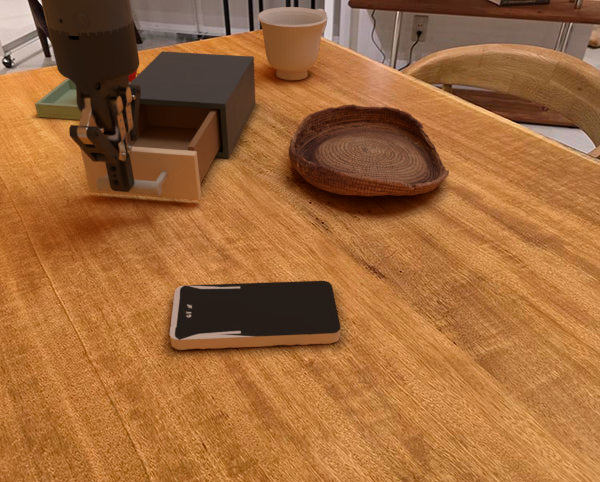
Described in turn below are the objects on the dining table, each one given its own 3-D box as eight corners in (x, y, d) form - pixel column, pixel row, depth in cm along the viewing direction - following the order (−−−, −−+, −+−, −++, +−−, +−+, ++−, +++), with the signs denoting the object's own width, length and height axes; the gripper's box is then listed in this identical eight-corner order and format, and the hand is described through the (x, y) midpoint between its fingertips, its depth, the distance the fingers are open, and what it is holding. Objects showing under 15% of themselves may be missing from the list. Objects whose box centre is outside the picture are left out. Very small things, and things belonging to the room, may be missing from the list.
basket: (472, 208, 71) (481, 171, 68) (310, 225, 68) (311, 186, 65) (408, 132, 88) (412, 99, 85) (276, 142, 85) (275, 108, 82)
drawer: (189, 219, 66) (183, 173, 63) (75, 210, 68) (63, 164, 64) (232, 136, 84) (230, 95, 80) (141, 129, 85) (134, 89, 81)
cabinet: (229, 158, 80) (225, 103, 76) (125, 151, 82) (115, 96, 77) (255, 104, 96) (253, 56, 91) (168, 99, 97) (161, 51, 92)
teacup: (348, 71, 109) (352, 12, 103) (294, 92, 100) (295, 29, 94) (299, 56, 115) (300, 0, 109) (244, 75, 106) (242, 15, 100)
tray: (38, 117, 90) (34, 103, 89) (69, 91, 99) (66, 78, 98) (133, 123, 89) (131, 110, 88) (157, 96, 98) (155, 84, 96)
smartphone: (341, 332, 52) (168, 340, 51) (340, 344, 53) (170, 351, 51) (330, 280, 58) (175, 285, 56) (330, 291, 59) (177, 296, 57)
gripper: (80, -2, 59) (113, 159, 70) (13, 35, 49) (63, 217, 60) (153, 2, 58) (174, 163, 69) (100, 40, 48) (135, 223, 59)
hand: (123, 188), depth 64 cm, fingers closed
